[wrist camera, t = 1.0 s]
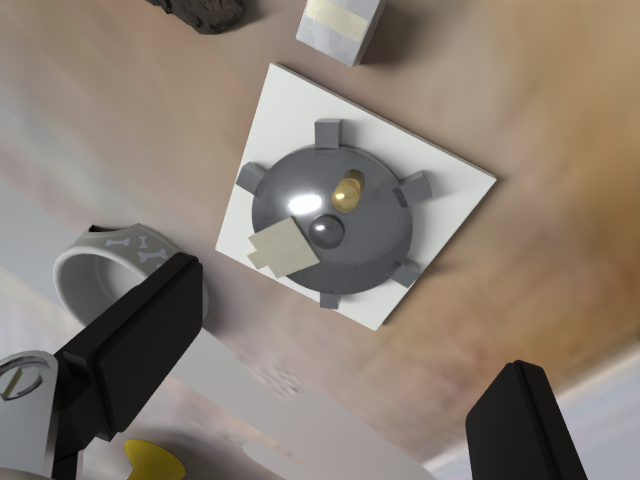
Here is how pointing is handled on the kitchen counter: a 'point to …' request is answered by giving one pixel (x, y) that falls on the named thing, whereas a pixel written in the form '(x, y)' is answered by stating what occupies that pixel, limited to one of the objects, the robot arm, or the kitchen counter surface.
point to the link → (340, 27)
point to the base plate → (373, 137)
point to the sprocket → (333, 217)
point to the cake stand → (152, 462)
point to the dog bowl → (109, 269)
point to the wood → (204, 13)
